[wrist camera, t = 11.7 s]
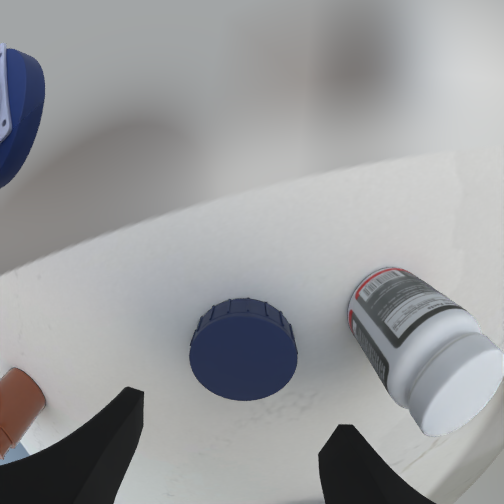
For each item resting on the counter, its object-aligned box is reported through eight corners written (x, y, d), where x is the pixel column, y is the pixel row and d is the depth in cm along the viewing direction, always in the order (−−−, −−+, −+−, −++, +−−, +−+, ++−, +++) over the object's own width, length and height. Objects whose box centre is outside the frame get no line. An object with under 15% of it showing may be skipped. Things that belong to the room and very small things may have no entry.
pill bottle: (400, 344, 15) (469, 435, 7) (334, 337, 15) (388, 452, 7) (429, 273, 14) (529, 341, 6) (361, 257, 14) (461, 338, 6)
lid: (276, 385, 16) (279, 408, 14) (187, 366, 16) (180, 388, 14) (307, 310, 15) (314, 329, 13) (205, 285, 14) (198, 301, 12)
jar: (2, 370, 17) (-42, 416, 9) (23, 364, 16) (-28, 418, 9) (30, 408, 18) (-7, 458, 10) (54, 407, 17) (14, 465, 10)
